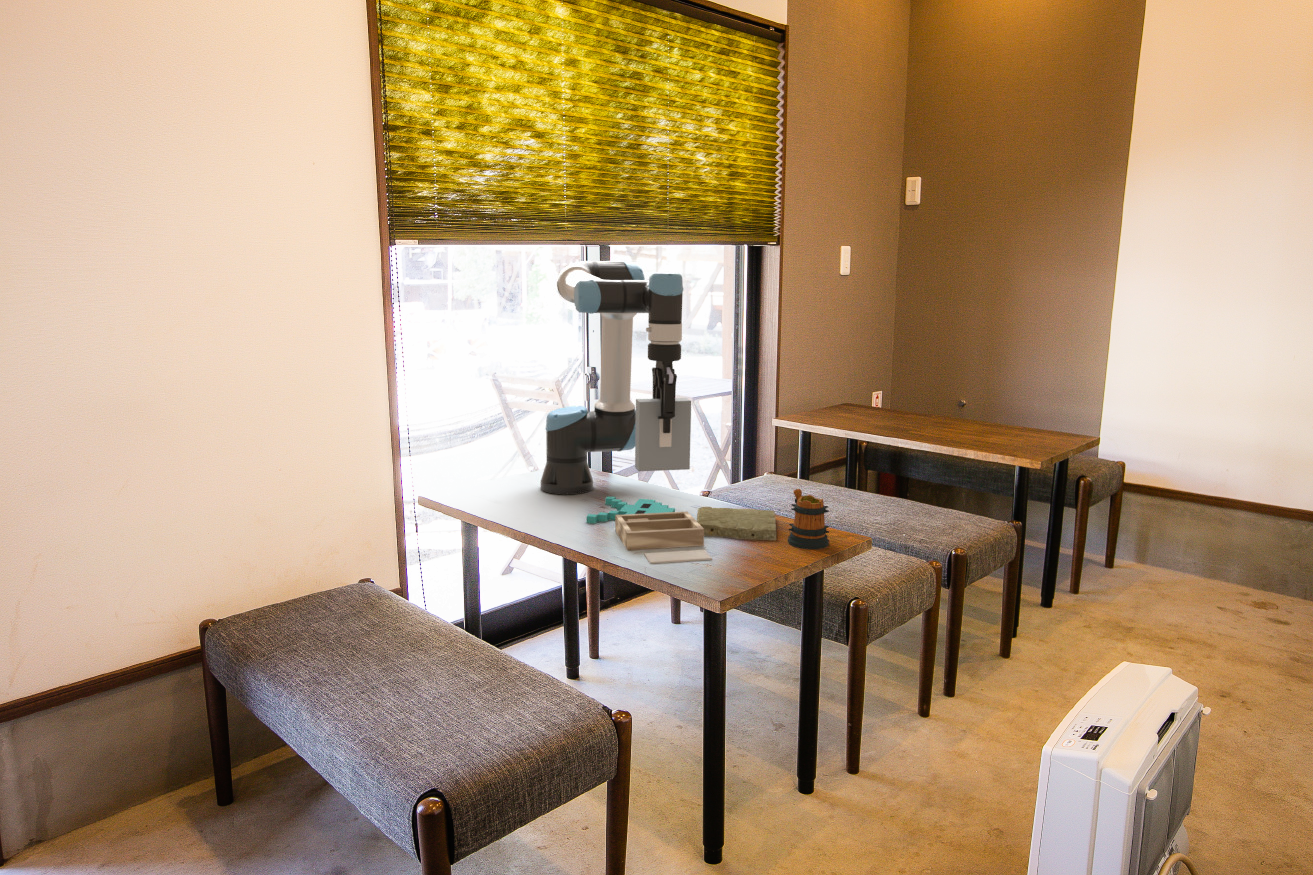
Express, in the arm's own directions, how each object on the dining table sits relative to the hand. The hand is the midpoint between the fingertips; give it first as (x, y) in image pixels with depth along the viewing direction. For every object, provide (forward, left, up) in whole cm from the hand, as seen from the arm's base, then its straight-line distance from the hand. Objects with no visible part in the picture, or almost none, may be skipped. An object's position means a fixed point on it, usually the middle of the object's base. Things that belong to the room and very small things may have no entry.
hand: (662, 444), depth 202 cm
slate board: (0, 0, -6) cm, 6 cm away
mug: (+6, +34, -24) cm, 42 cm away
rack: (-3, 0, -23) cm, 23 cm away
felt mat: (+12, +1, -23) cm, 26 cm away
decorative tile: (-7, +21, -24) cm, 33 cm away
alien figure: (-23, -1, -24) cm, 33 cm away
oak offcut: (-7, -4, -23) cm, 25 cm away
